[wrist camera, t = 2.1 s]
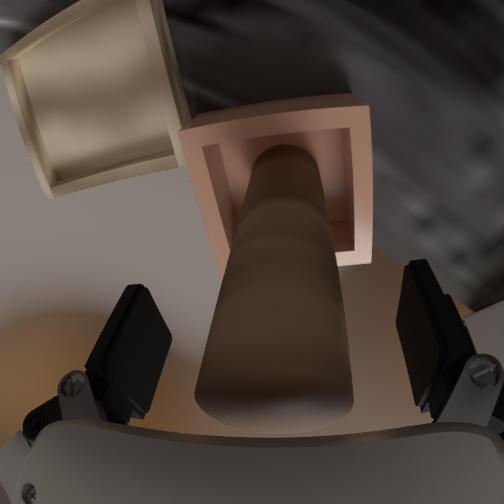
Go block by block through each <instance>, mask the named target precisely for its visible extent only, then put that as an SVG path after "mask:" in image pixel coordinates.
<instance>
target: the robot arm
mask: <svg viewBox="0 0 504 504" xmlns="http://www.w3.org/2000/svg"><path fill="white" fill-rule="evenodd" d="M396 327H397V331H398V335H399V339H400V342H401V346H402V350H403V354H404V358H405V362H406V366H407V370H408V375H409V379H410V383H411V387H412V393H413V397H414V402H415V405H416V406H420V409H421V413H424V412H429V411H430V414H431V417H432V418H433V421H432V423H428V424H421V425H414V426H406V427H400V428H394V429H387V430H380V431H372V432H363V433H353V434H343V435H333V436H332V435H331V436H316V437H293V438H248V437H247V438H246V437H224V436H208V435H197V434H187V433H178V432H169V431H161V430H154V429H148V428H142V427H135V426H131V424H130V422H129V420H130V417H132V418H138V419H144V416H145V413H147V412H148V411H149V410H150V407H151V403H152V400H153V397H154V394H155V391H156V387H157V384H158V381H159V378H160V375H161V372H162V369H163V366H164V363H165V360H166V357H167V354H168V351H169V348H170V345H171V342H172V336H171V333H170V331H169V329H168V327H167V325H166V323H165V322H164V319H163V317H162V316H161V314H160V312H159V310H158V308H157V306H156V304H155V302H154V300H153V298H152V296H151V294H150V292H149V290H148V288H146V287H144V285H142V284H132V285H128V286H127V287H126V288H125V290H124V292H123V293H122V296H121V297H120V299H119V301H118V302H117V304H116V306H115V308H114V310H113V312H112V314H111V315H110V317H109V319H108V321H107V323H106V325H105V327H104V329H103V331H102V332H101V334H100V336H99V338H98V340H97V342H96V344H95V346H94V348H93V350H92V352H91V354H90V356H89V358H88V361H87V362H86V364H85V368H86V372H85V373H84V372H83V371H80V370H73V371H71V372H69V373H68V374H66V375H65V376H64V377H63V378H62V379H61V381H60V383H59V385H58V388H57V393H58V395H57V396H55V397H53V398H52V399H51V400H49V401H47V402H45V403H44V404H42V405H40V406H39V407H37V408H35V409H34V410H32V411H31V412H30V413H28V415H27V416H26V417H25V419H24V422H23V431H21V430H19V431H18V432H17V433H16V434H15V435H14V436H13V437H12V438H11V439H10V440H9V441H8V442H7V443H6V444H5V446H4V447H3V448H2V449H1V450H0V482H1V483H2V485H3V487H4V489H5V491H6V493H7V495H8V497H9V499H10V501H11V502H12V503H11V504H504V369H503V367H502V365H501V363H500V362H499V361H498V360H497V358H495V357H493V356H492V355H489V354H485V353H484V354H477V355H476V352H475V350H474V347H473V345H472V343H471V340H470V338H469V335H468V333H467V331H466V328H465V326H464V324H463V321H462V319H461V317H460V315H459V313H458V310H457V309H456V306H455V304H454V302H453V300H452V298H451V296H450V295H449V294H443V292H442V289H441V287H440V285H439V283H438V281H437V279H436V277H435V275H434V273H433V271H432V269H431V267H430V265H429V263H428V262H427V260H426V259H420V260H411V261H410V262H409V265H406V266H405V267H404V274H403V280H402V287H401V294H400V300H399V306H398V311H397V317H396Z"/></svg>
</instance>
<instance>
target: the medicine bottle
mask: <svg viewBox="0 0 504 504" xmlns="http://www.w3.org/2000/svg"><path fill="white" fill-rule="evenodd" d="M462 321H463V324H464V326H465V328H466V331H467V333H468V335H469V338H470V340H471V343H472V345H473V347H474V350H475V352H476V355H477V354H484V353H485V354H489V355H492V356H493V357H495V358H497V360H498V361H499V362H500V363H501V365H502V367H503V369H504V300H502V301H499V302H497V303H495V304H493V305H491V306H489V307H486V308H484V309H482V310H480V311H477V312H475V313H473V314H470V315H468V316H466V317H464V318H463V319H462Z"/></svg>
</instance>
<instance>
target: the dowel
mask: <svg viewBox="0 0 504 504" xmlns="http://www.w3.org/2000/svg"><path fill="white" fill-rule="evenodd" d="M350 365H351V364H350V354H349V345H348V337H347V329H346V320H345V313H344V306H343V299H342V291H341V285H340V278H339V272H338V266H337V260H336V254H335V248H334V242H333V237H332V231H331V226H330V221H329V215H328V210H327V205H326V200H325V195H324V191H323V186H322V181H321V177H320V172H319V168H318V165H317V163H316V161H315V159H314V158H313V157H312V156H311V155H310V154H309V153H308V152H307V151H306V150H304V149H302V148H300V147H298V146H294V145H288V144H283V145H276V146H273V147H271V148H269V149H267V150H265V151H264V152H263V153H262V154H260V156H259V157H258V158H257V160H256V161H255V163H254V166H253V170H252V173H251V177H250V180H249V184H248V188H247V191H246V195H245V198H244V202H243V206H242V209H241V213H240V217H239V220H238V224H237V228H236V232H235V235H234V239H233V243H232V246H231V250H230V254H229V258H228V262H227V265H226V269H225V273H224V277H223V281H222V285H221V289H220V292H219V296H218V300H217V304H216V308H215V312H214V316H213V320H212V324H211V327H210V332H209V335H208V340H207V344H206V347H205V352H204V356H203V360H202V364H201V368H200V372H199V376H198V380H197V384H196V388H195V400H196V402H197V403H198V405H199V407H200V408H201V409H202V410H203V411H204V412H206V413H207V414H208V415H210V416H211V417H213V418H214V419H216V420H218V421H220V422H222V423H225V424H227V425H230V426H233V427H236V428H239V429H243V430H247V431H253V432H259V433H270V434H292V433H302V432H308V431H313V430H317V429H321V428H324V427H326V426H329V425H332V424H334V423H336V422H337V421H339V420H341V419H342V418H344V417H345V416H346V415H347V414H348V413H349V412H350V410H351V409H352V406H353V403H354V397H353V385H352V375H351V366H350Z"/></svg>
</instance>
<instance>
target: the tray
mask: <svg viewBox="0 0 504 504" xmlns="http://www.w3.org/2000/svg"><path fill="white" fill-rule="evenodd" d="M0 62H1V67H2V71H3V75H4V79H5V83H6V87H7V90H8V94H9V97H10V101H11V104H12V108H13V111H14V114H15V117H16V120H17V124H18V127H19V129H20V132H21V135H22V138H23V141H24V144H25V146H26V149H27V152H28V154H29V157H30V160H31V162H32V165H33V167H34V170H35V172H36V175H37V177H38V179H39V182H40V184H41V187H42V189H43V191H44V193H45V196H46V198H47V200H48V199H51V198H55V197H58V196H62V195H65V194H68V193H72V192H76V191H79V190H83V189H87V188H91V187H94V186H98V185H102V184H106V183H110V182H114V181H118V180H122V179H127V178H131V177H135V176H140V175H144V174H148V173H153V172H158V171H163V170H168V169H172V168H178V167H183V166H187V164H186V161H185V157H184V154H183V150H182V147H181V143H180V140H179V136H178V132H177V131H179V130H180V129H181V128H182V127H183V126H184V125H186V124H187V123H188V122H189V121H190V120H192V119H191V115H190V111H189V107H188V103H187V99H186V95H185V92H184V88H183V84H182V80H181V76H180V72H179V68H178V64H177V60H176V55H175V51H174V47H173V43H172V39H171V35H170V31H169V27H168V22H167V18H166V14H165V10H164V5H163V1H162V0H80V1H78V2H76V3H75V4H73V5H71V6H70V7H68V8H66V9H65V10H63V11H61V12H60V13H58V14H56V15H55V16H53V17H52V18H50V19H49V20H47V21H46V22H44V23H43V24H41V25H40V26H38V27H37V28H35V29H34V30H33V31H31V32H30V33H28V34H27V35H26V36H24V37H23V38H22V39H20V40H19V41H18V42H16V43H15V44H14V45H12V46H11V47H10V48H9V49H7V50H6V51H5V52H4V53H3V54H1V55H0Z"/></svg>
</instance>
